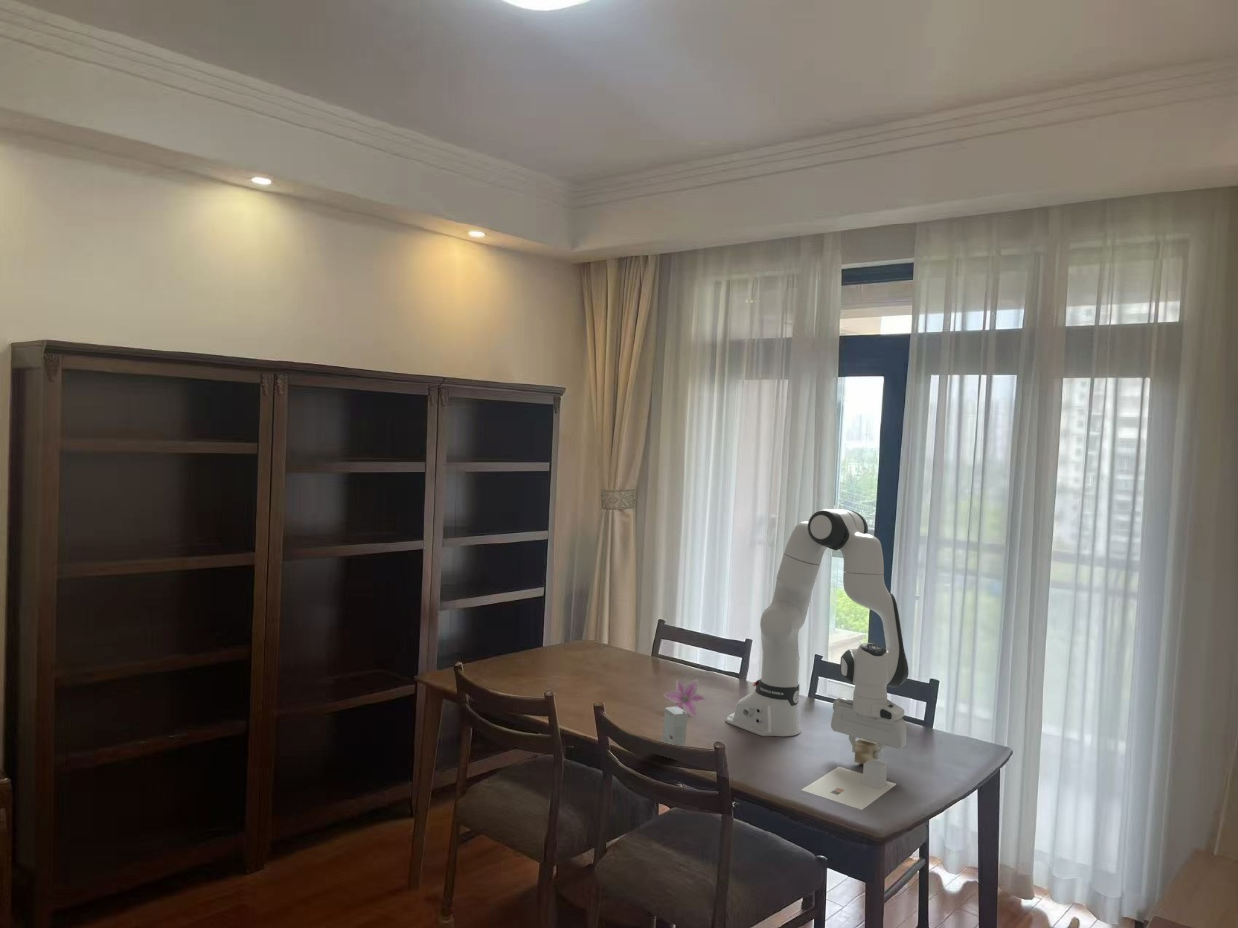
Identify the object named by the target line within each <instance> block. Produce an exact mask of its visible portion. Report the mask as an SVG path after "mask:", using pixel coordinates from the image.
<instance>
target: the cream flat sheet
mask: <svg viewBox="0 0 1238 928" xmlns="http://www.w3.org/2000/svg"><path fill="white" fill-rule="evenodd" d="M862 781H863V772H862V773H861V772H859V771H855V770H851V769H849V768H845V767H842V766H837V767H836V768H833V769H832V770H831V771H829V772H828V773H826V774H825V775H822V776H821V777H820V778H818V779H816V780H815V781H814V782H811V783H810V784H809V785H807V786H805V787H803V788H801V791H803V792H805V793H809V794H811V795H815V796H817V797H821V798H824V799H826V800H830V801H833V802H836V803H839V804H842V805H845V806H848V807H850V808H851V807H852V808H854V809H857V810H860V811H863V810H864V809H866V807H868V806H869V805H871V804H872V803H874V802H875V801H876V800H877V799H879V798H881V796H883V795H884V794H885V793H887V792H888V791H890V790H891V789H892V788H894V787H895V786H896V785H897V783H895V782H891V781H888V780H886V785H885V786H884V787H883V788H881V789H880V790H877V789H874V788H871V787H868V786H865V785H862Z"/></svg>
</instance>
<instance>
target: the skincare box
mask: <svg viewBox="0 0 1238 928" xmlns="http://www.w3.org/2000/svg"><path fill="white" fill-rule="evenodd" d="M688 714H689V713H688V712H687V711H686V710H685V709H680V708H679V707H678V706H677V707H674V706H668V707H665V708H664V716H663V727H662V740H661V743H662V742H664V743H668V744H672V745H678V746H684V747H685V745H686V737H687V736H686V734H687V726H688V725H687V724H688Z"/></svg>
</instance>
